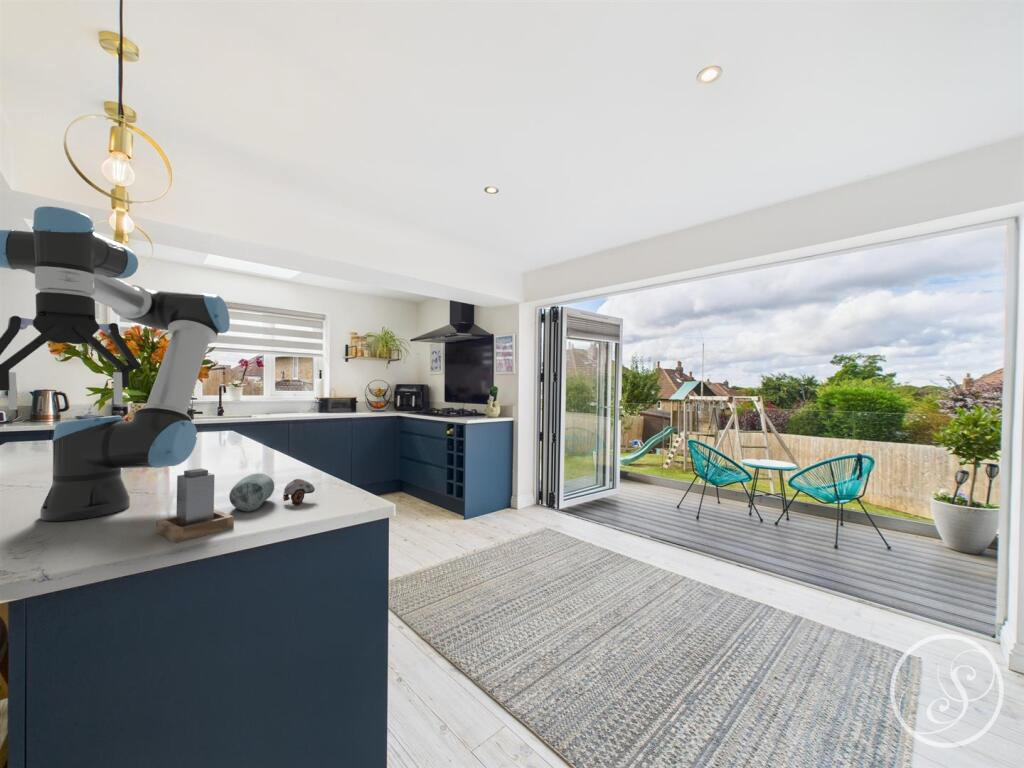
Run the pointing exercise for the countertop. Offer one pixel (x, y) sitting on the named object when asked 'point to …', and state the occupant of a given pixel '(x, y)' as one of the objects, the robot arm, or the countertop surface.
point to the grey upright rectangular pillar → (195, 497)
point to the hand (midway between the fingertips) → (69, 406)
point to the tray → (194, 527)
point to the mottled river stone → (251, 492)
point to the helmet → (297, 490)
